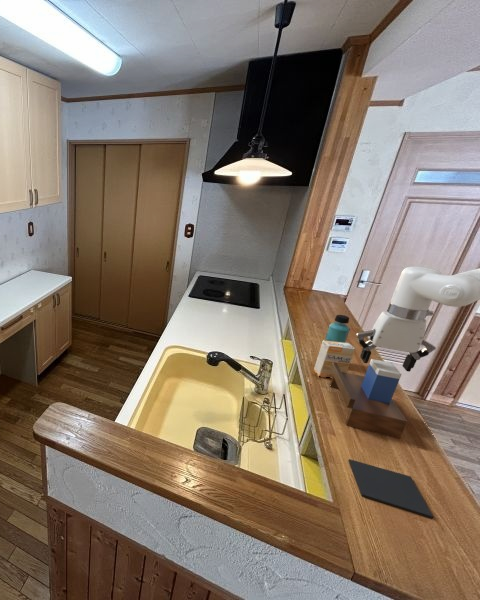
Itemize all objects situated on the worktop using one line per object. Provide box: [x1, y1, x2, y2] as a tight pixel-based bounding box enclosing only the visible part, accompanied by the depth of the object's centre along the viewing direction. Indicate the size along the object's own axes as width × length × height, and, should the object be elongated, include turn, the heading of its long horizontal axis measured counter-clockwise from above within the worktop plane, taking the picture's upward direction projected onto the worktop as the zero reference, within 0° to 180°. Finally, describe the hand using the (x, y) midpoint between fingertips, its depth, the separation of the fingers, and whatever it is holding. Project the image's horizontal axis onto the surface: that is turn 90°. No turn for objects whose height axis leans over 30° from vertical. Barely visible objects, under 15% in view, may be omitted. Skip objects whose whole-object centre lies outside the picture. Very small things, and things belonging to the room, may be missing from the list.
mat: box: [348, 458, 434, 520], centre depth 75 cm, size 12×11×1 cm
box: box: [361, 358, 402, 403], centre depth 96 cm, size 5×7×10 cm
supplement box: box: [313, 339, 356, 379], centre depth 116 cm, size 8×5×13 cm, turn 76°
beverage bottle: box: [324, 314, 351, 343], centre depth 123 cm, size 6×7×20 cm
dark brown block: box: [329, 362, 408, 440], centre depth 100 cm, size 13×22×9 cm, turn 154°
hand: (384, 365), depth 95 cm, fingers open, 9 cm apart
